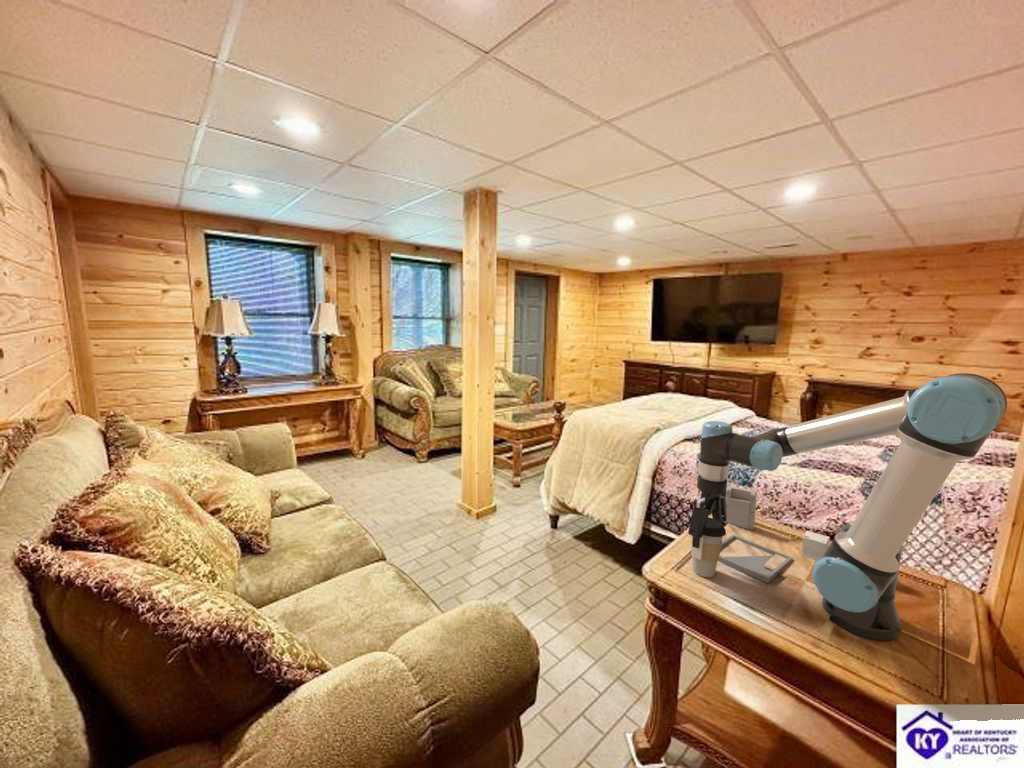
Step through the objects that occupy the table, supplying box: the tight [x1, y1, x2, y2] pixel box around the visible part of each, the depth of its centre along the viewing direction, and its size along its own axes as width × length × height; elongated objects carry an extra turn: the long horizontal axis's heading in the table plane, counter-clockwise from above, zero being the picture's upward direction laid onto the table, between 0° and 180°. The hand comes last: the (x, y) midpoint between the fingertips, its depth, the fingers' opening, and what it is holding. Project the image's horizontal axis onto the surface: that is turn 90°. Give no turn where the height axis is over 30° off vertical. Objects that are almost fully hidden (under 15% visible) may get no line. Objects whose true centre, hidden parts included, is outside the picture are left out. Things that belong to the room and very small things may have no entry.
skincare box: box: [800, 530, 831, 561], centre depth 132 cm, size 6×6×7 cm
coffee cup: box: [690, 516, 727, 578], centre depth 123 cm, size 9×9×15 cm
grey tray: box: [717, 534, 793, 585], centre depth 131 cm, size 18×18×2 cm
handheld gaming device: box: [725, 485, 758, 531], centre depth 150 cm, size 9×15×4 cm
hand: (705, 551), depth 124 cm, fingers open, 10 cm apart
